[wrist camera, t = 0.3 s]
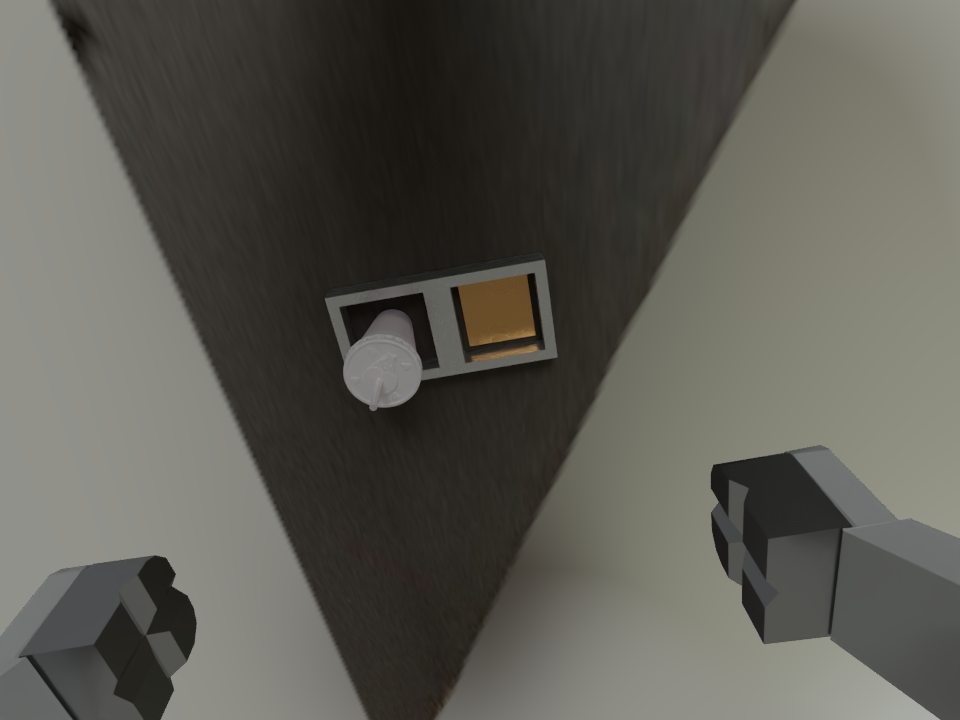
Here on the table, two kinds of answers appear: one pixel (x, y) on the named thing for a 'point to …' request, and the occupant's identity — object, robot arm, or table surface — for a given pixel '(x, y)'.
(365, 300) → the cup holder
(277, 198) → the table surface
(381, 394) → the smoothie
